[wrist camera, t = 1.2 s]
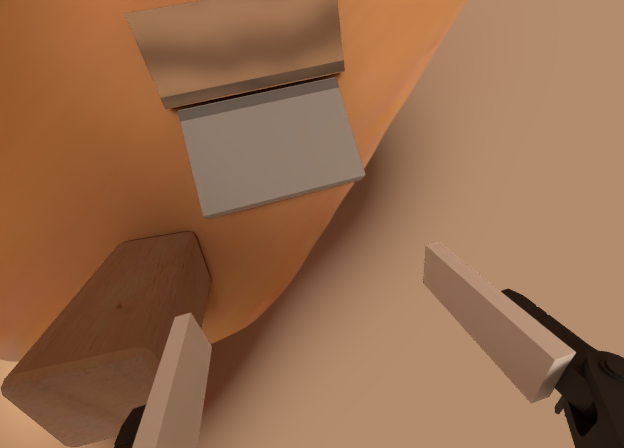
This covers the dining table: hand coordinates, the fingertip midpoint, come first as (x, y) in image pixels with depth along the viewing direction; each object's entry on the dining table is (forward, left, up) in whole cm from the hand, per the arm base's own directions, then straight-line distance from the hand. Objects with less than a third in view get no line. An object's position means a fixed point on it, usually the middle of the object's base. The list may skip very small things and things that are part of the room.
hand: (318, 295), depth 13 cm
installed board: (-14, 0, -24) cm, 28 cm away
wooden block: (+10, -19, -25) cm, 32 cm away
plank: (-3, 0, -21) cm, 21 cm away
